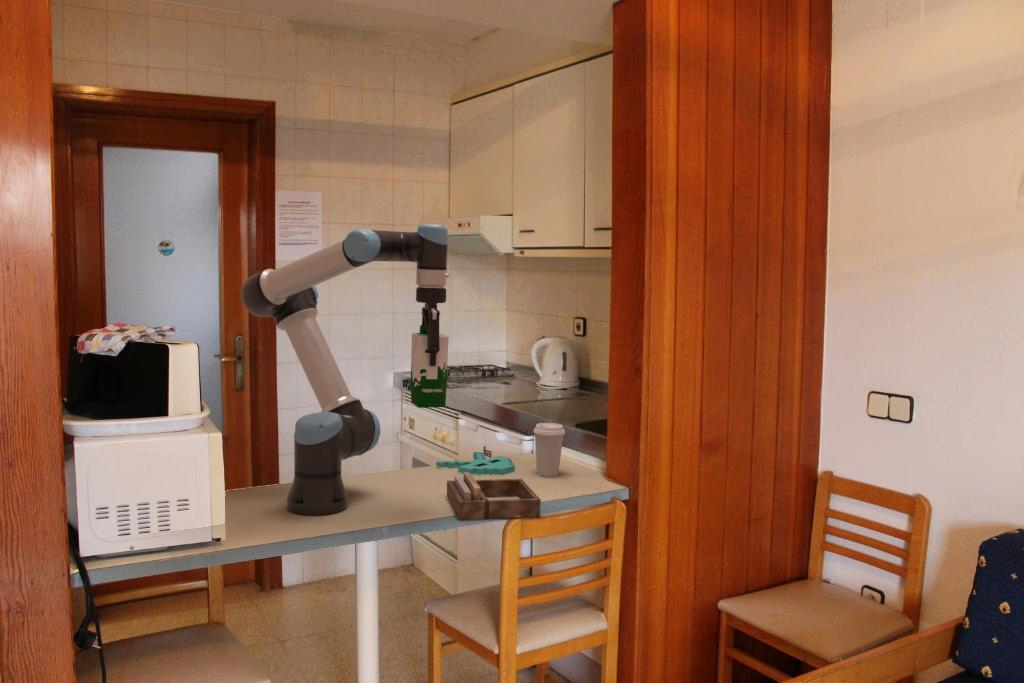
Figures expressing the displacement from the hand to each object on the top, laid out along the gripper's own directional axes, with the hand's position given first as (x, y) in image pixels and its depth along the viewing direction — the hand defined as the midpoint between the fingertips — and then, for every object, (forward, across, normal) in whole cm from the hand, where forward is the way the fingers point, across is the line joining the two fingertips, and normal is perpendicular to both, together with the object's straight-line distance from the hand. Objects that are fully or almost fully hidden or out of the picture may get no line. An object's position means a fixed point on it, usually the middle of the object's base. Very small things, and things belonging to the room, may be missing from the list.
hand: (428, 376), depth 220 cm
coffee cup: (+35, +31, -41) cm, 62 cm away
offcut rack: (+34, 0, -17) cm, 39 cm away
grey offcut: (+35, 0, -10) cm, 36 cm away
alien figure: (+35, +41, -23) cm, 59 cm away
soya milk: (+8, 0, 0) cm, 8 cm away
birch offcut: (+35, 0, -12) cm, 37 cm away
